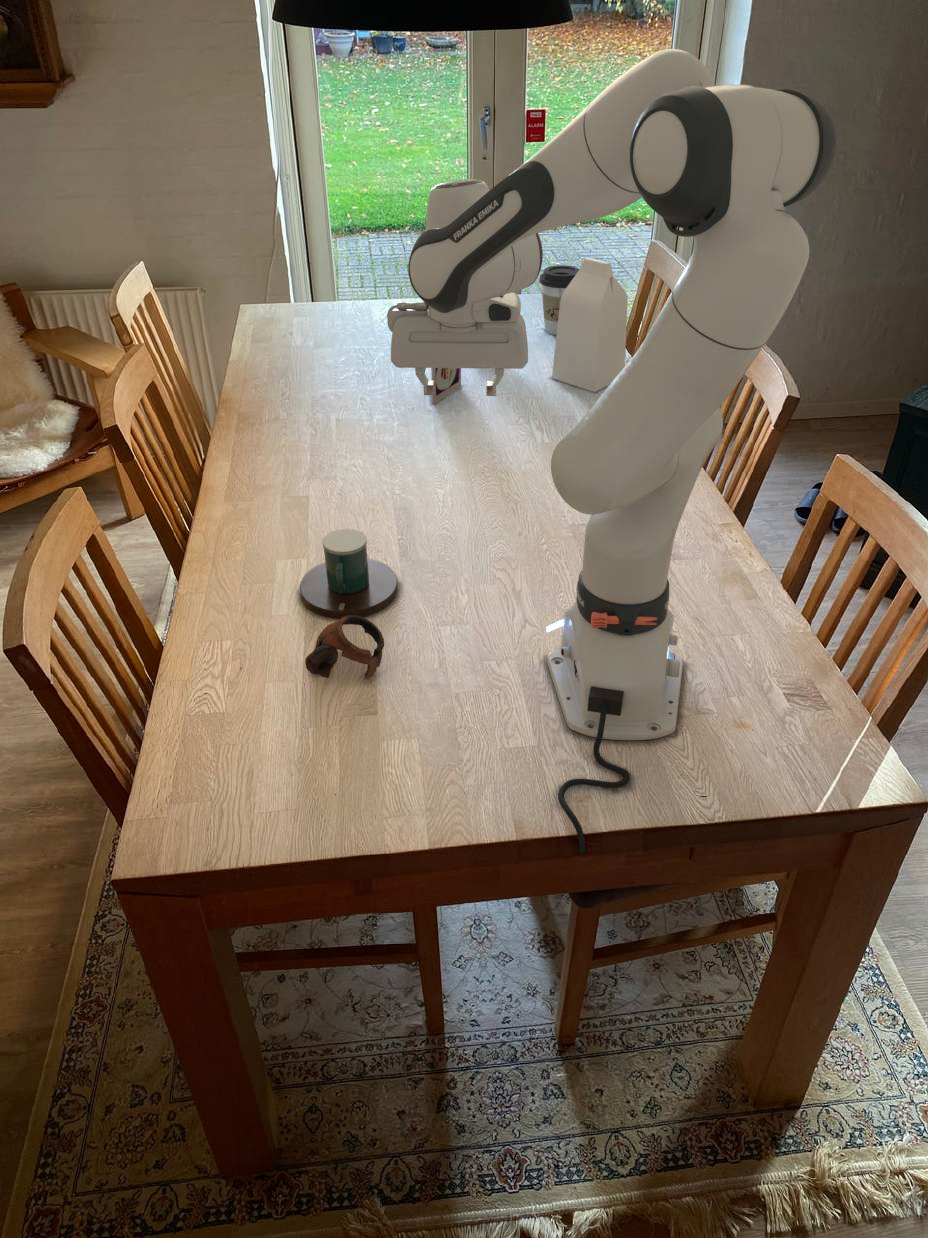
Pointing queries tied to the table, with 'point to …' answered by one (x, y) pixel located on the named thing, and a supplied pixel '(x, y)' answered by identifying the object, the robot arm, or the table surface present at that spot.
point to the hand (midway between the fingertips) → (460, 394)
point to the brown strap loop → (344, 647)
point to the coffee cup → (554, 292)
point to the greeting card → (445, 381)
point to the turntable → (358, 603)
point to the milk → (591, 328)
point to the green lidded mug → (346, 560)
